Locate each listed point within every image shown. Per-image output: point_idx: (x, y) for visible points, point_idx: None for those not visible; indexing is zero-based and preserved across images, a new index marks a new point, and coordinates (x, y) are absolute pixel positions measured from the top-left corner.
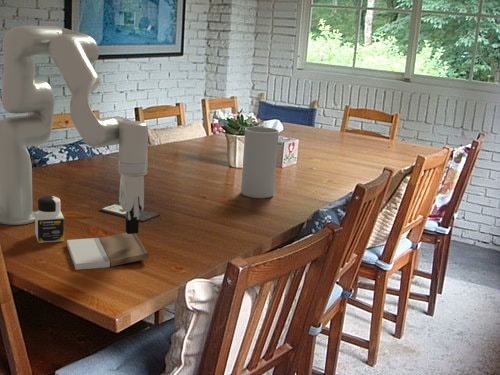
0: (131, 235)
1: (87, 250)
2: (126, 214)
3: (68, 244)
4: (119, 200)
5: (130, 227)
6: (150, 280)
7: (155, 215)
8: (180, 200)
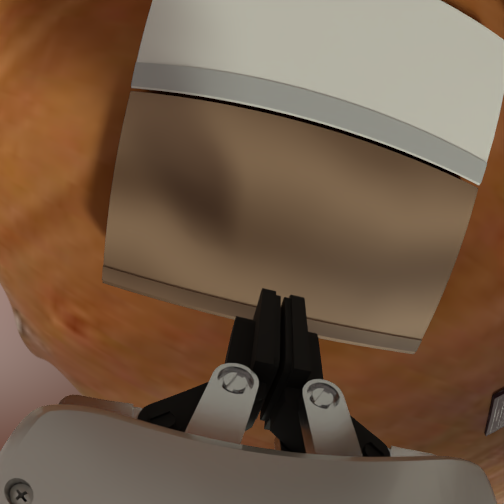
0: (377, 327)
1: (340, 34)
2: (335, 406)
3: (464, 15)
4: (471, 483)
5: (232, 332)
6: (7, 198)
7: (490, 427)
8: (497, 465)
